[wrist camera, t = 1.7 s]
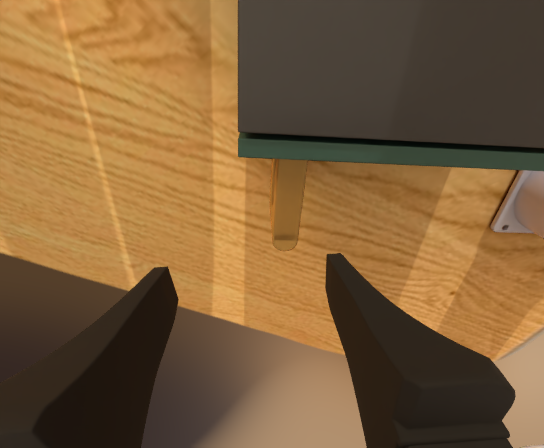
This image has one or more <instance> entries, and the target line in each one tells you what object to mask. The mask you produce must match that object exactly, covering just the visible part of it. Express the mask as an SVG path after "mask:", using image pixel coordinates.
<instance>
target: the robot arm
mask: <svg viewBox="0 0 544 448" xmlns="http://www.w3.org/2000/svg"><path fill="white" fill-rule="evenodd" d="M504 225H505V226H504ZM503 226H504V227H503ZM491 229H492V230H493V231H494V232H509V233H535V234H537V235H539V236H540V237H542V238H543V239H544V171H527V170H520V171H519V173H518V175H517V177H516V178H515V180H514V182H513V184H512V186H511V188H510V190H509V192H508V194H507V196H506V197H505V199H504V201H503V203H502V205H501V207H500V209H499V211H498V213H497V215H496V217H495V218H494V220H493V222H492V224H491ZM326 293H327V298H328V303H329V307H330V311H331V314H332V316H333V319H334V322H335V325H336V328H337V331H338V334H339V337H340V340H341V343H342V346H343V349H344V351H345V355H346V358H347V361H348V365H349V368H350V373H351V377H352V382H353V385H354V390H355V395H356V398H357V403H358V407H359V412H360V417H361V422H362V426H363V431H364V436H365V441H366V446H367V448H513V447H512V446H511V444H510V443H509V441H508V439H507V438H509V437H510V434H509V431H508V430H507V428H506V427H505V425H504V424H503V422H502V419H503V418H504V416H505V415H506V413H507V412H508V411H509V409H510V408H511V406H512V404H513V402H514V400H515V390H514V389H513V388H512V386H511V385H510V384H509V382H508V381H507V380H506V378H505V377H504V375H503V374H502V373H501V372H500V370H499V369H498V368H497V367H496V366H495V364H494V363H493V362H492V361H491V360H490V358H488V357H486V356H483V355H481V354H479V353H477V352H475V351H473V350H471V349H468V348H466V347H464V346H462V345H460V344H458V343H456V342H454V341H452V340H450V339H448V338H447V337H445V336H443V335H441V334H439V333H437V332H436V331H434V330H432V329H430V328H429V327H427V326H425V325H424V324H422V323H421V322H419V321H417V320H416V319H414V318H413V317H411V316H410V315H408V314H407V313H405V312H404V311H403V310H401V309H400V308H398V307H397V306H396V305H394V304H393V303H392V302H390V301H389V300H388V299H387V298H386V297H384V296H383V295H382V294H381V293H380V292H379V291H377V290H376V289H375V288H374V287H373V286H372V285H371V284H370V283H369V282H368V281H367V280H366V279H365V278H364V277H363V276H362V275H361V274H360V273H359V272H358V271H357V270H356V269H355V268H354V267H353V266H352V265H351V264H350V263H349V262H348V261H347V260H346V259H345V257H344V256H343V255H342V254H341V253H337V254H327V262H326ZM177 305H178V297H177V294H176V290H175V287H174V284H173V281H172V278H171V275H170V272H169V269H168V267H157V268H153V269H152V270H151V271H150V272H149V273H148V274H147V275H146V276H145V277H144V278H143V279H142V280H141V281H140V282H139V283H138V284H137V285H136V286H135V287H134V288H132V289H131V290H130V291H129V292H128V293H127V294H126V295H125V296H124V297H123V298H122V299H121V300H120V301H119V302H118V303H116V304H115V305H114V306H113V307H112V308H111V309H110V310H108V311H107V312H106V313H105V314H104V315H103V316H102V317H100V318H99V319H98V320H97V321H95V322H94V323H93V324H92V325H90V326H89V327H88V328H86V329H85V330H84V331H82V332H81V333H80V334H79V335H77V336H76V337H74V338H73V339H72V340H70V341H69V342H67V343H66V344H64V345H63V346H61V347H60V348H58V349H57V350H55V351H54V352H52V353H51V354H49V355H48V356H46V357H44V358H43V359H41V360H39V361H38V362H36V363H35V364H33V365H31V366H30V367H28V368H26V369H25V370H23V371H21V372H19V373H17V374H16V375H14V376H12V377H10V378H9V379H7V380H5V381H3V382H1V383H0V448H141V444H142V439H143V433H144V428H145V423H146V418H147V413H148V408H149V403H150V399H151V395H152V390H153V386H154V382H155V378H156V374H157V371H158V368H159V364H160V361H161V358H162V356H163V353H164V350H165V347H166V344H167V341H168V338H169V335H170V332H171V329H172V326H173V323H174V320H175V315H176V310H177ZM521 448H544V445H532V446H525V447H521Z"/></svg>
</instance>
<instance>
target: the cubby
mask: <svg viewBox="0 0 544 448" xmlns="http://www.w3.org/2000/svg"><path fill="white" fill-rule="evenodd" d="M238 132H241V133H260V134H280V135H299V136H318V137H338V138H357V139H376V140H396V141H415V142H434V143H454V144H473V145H492V146H511V147H531V148H544V0H238Z"/></svg>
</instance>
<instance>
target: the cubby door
mask: <svg viewBox="0 0 544 448" xmlns="http://www.w3.org/2000/svg"><path fill="white" fill-rule="evenodd" d="M238 157H246V158H268V159H272V171H271V188H270V214H271V228H272V242H273V245H274V247H275V248H277V249H278V250H281V251H289V250H291V249H293V248H294V247H295V246H296V244H297V241H298V234H299V226H300V218H301V210H302V202H303V194H304V187H305V179H306V171H307V163H308V160H311V161H332V162H354V163H376V164H397V165H419V166H441V167H462V168H484V169H505V170H527V171H544V148H531V147H511V146H492V145H473V144H454V143H434V142H415V141H396V140H376V139H357V138H338V137H318V136H299V135H280V134H260V133H241V132H240V134H239V138H238Z"/></svg>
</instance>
